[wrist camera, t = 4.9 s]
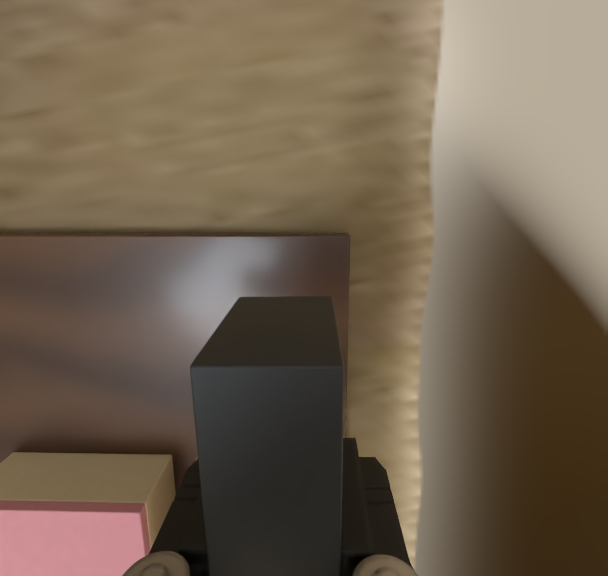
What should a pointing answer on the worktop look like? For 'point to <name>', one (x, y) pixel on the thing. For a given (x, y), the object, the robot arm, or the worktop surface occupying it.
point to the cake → (81, 511)
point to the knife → (271, 438)
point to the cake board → (135, 330)
